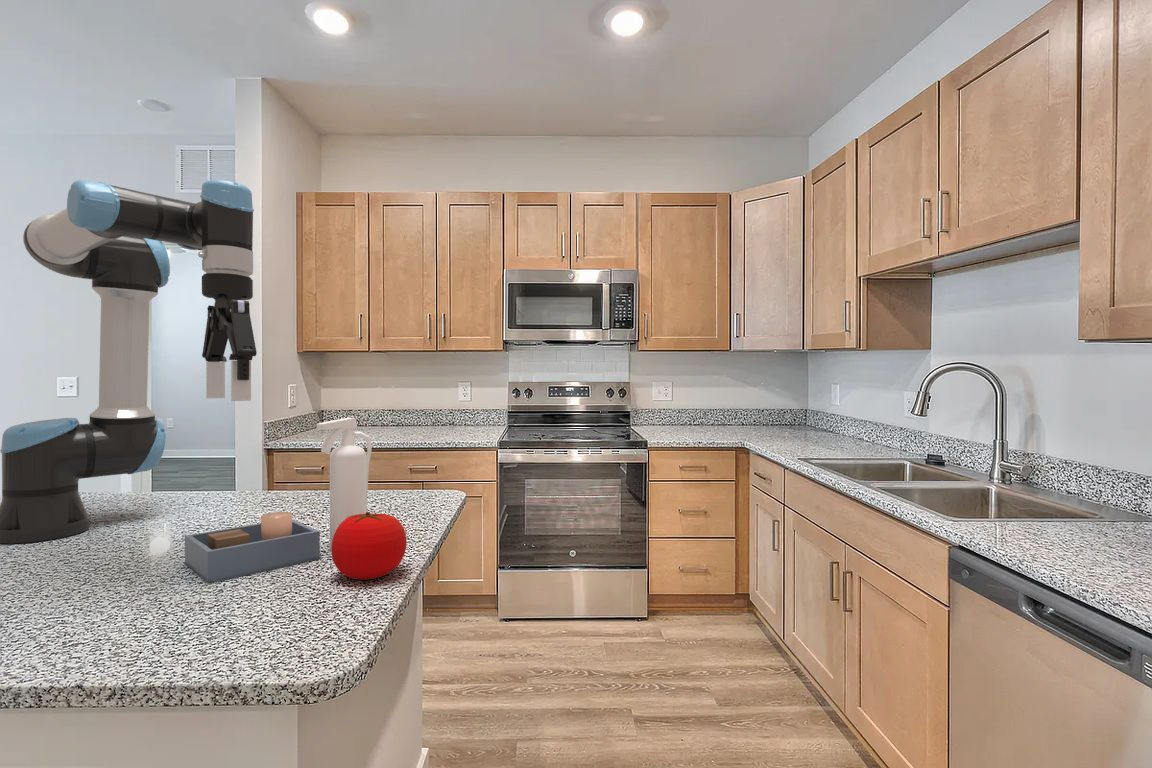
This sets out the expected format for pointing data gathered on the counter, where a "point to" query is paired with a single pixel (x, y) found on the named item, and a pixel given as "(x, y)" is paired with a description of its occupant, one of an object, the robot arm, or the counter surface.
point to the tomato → (368, 545)
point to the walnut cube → (227, 539)
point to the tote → (250, 552)
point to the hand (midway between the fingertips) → (227, 399)
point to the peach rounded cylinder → (276, 525)
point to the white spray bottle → (346, 471)
